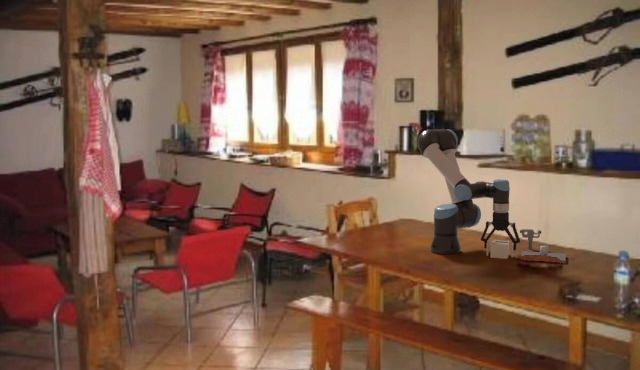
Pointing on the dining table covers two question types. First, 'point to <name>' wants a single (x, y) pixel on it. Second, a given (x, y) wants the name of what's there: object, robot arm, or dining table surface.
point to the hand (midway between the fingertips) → (499, 255)
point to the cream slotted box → (499, 249)
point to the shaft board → (561, 256)
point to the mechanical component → (530, 235)
